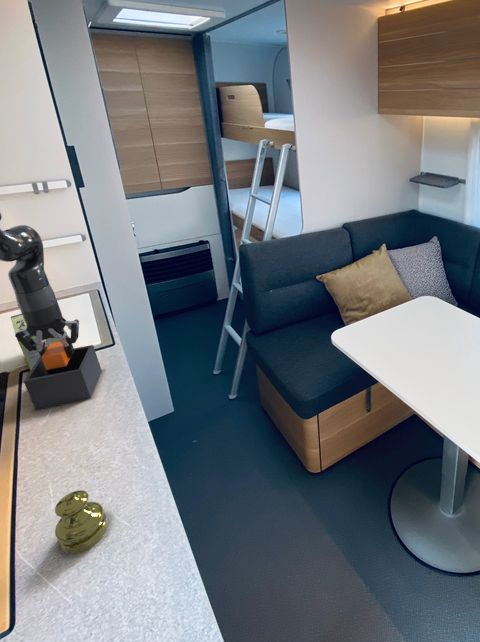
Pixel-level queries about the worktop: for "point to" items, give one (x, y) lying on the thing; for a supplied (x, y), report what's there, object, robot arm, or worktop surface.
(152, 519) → the worktop surface
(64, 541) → the olive gold metallic knob
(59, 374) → the trash bin
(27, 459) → the worktop surface
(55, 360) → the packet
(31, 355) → the protein box
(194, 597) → the worktop surface
